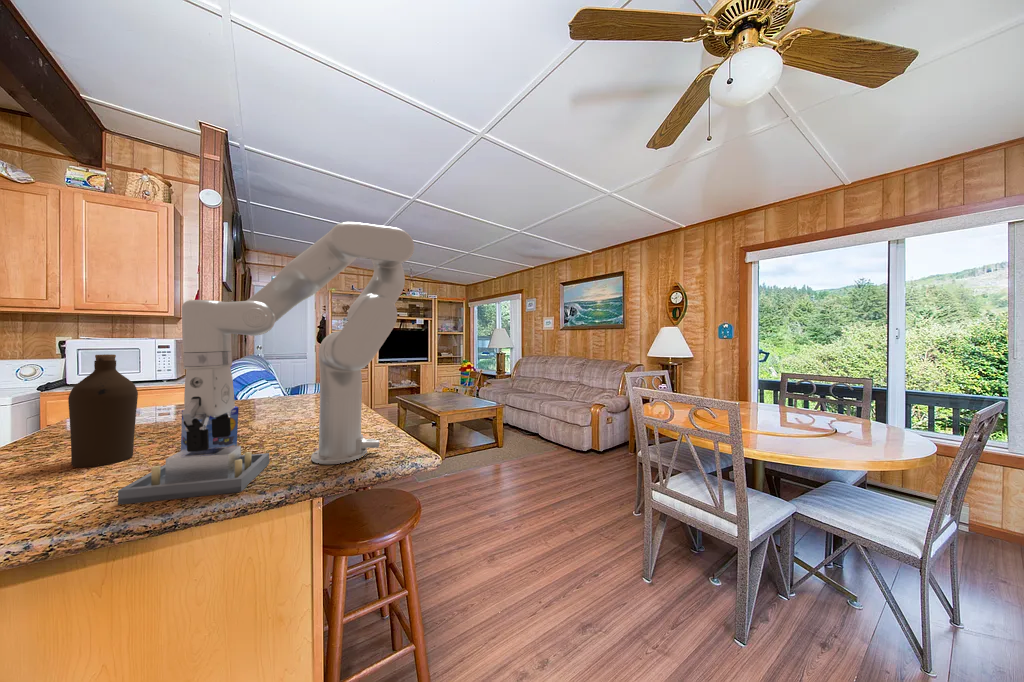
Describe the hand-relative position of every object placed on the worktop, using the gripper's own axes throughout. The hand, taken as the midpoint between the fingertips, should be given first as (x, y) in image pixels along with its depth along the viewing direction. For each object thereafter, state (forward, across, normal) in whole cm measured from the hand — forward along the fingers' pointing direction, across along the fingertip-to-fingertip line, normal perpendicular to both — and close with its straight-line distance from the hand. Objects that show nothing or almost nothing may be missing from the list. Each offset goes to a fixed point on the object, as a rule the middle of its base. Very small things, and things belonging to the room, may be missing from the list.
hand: (210, 443), depth 72 cm
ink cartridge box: (+8, +17, +7) cm, 20 cm away
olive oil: (+7, +21, +29) cm, 36 cm away
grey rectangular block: (+7, 0, +1) cm, 7 cm away
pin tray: (+8, 0, +1) cm, 8 cm away
